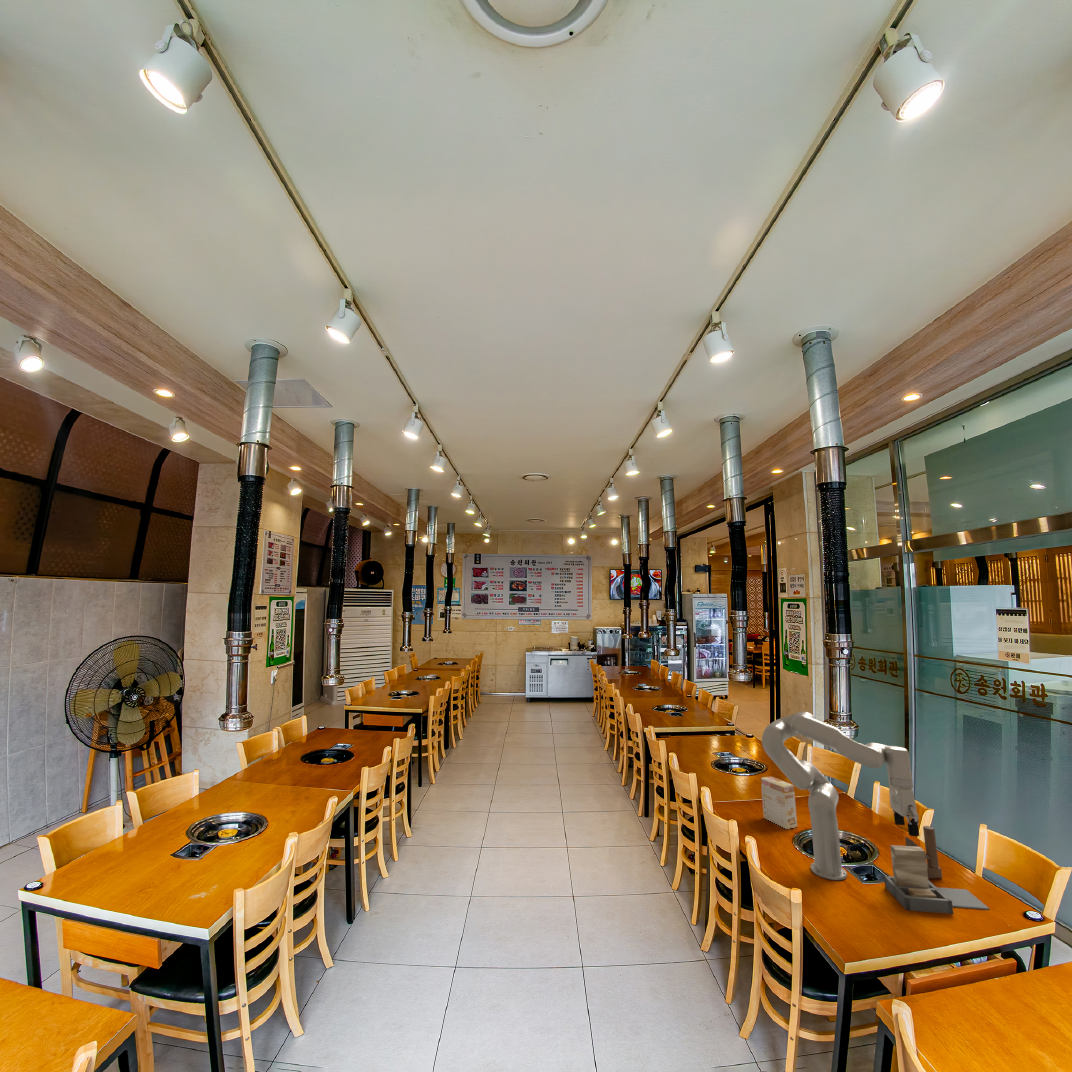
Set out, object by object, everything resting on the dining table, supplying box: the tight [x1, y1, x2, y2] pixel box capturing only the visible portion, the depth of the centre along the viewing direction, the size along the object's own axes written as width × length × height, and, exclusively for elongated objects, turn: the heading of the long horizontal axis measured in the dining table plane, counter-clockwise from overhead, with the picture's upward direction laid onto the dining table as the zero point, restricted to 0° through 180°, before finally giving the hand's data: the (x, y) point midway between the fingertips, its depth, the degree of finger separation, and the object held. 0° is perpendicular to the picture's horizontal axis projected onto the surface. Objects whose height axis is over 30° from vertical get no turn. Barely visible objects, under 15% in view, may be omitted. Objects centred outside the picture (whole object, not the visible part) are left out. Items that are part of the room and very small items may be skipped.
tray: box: [883, 875, 954, 915], centre depth 183 cm, size 15×15×4 cm
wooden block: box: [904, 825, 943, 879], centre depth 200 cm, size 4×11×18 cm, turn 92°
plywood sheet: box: [889, 844, 930, 888], centre depth 188 cm, size 4×10×16 cm, turn 80°
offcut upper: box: [908, 888, 937, 898], centre depth 180 cm, size 4×7×2 cm, turn 82°
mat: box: [936, 886, 990, 911], centre depth 184 cm, size 12×13×1 cm
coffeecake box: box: [760, 776, 798, 830], centre depth 251 cm, size 15×7×20 cm, turn 19°
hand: (906, 830), depth 189 cm, fingers open, 9 cm apart
